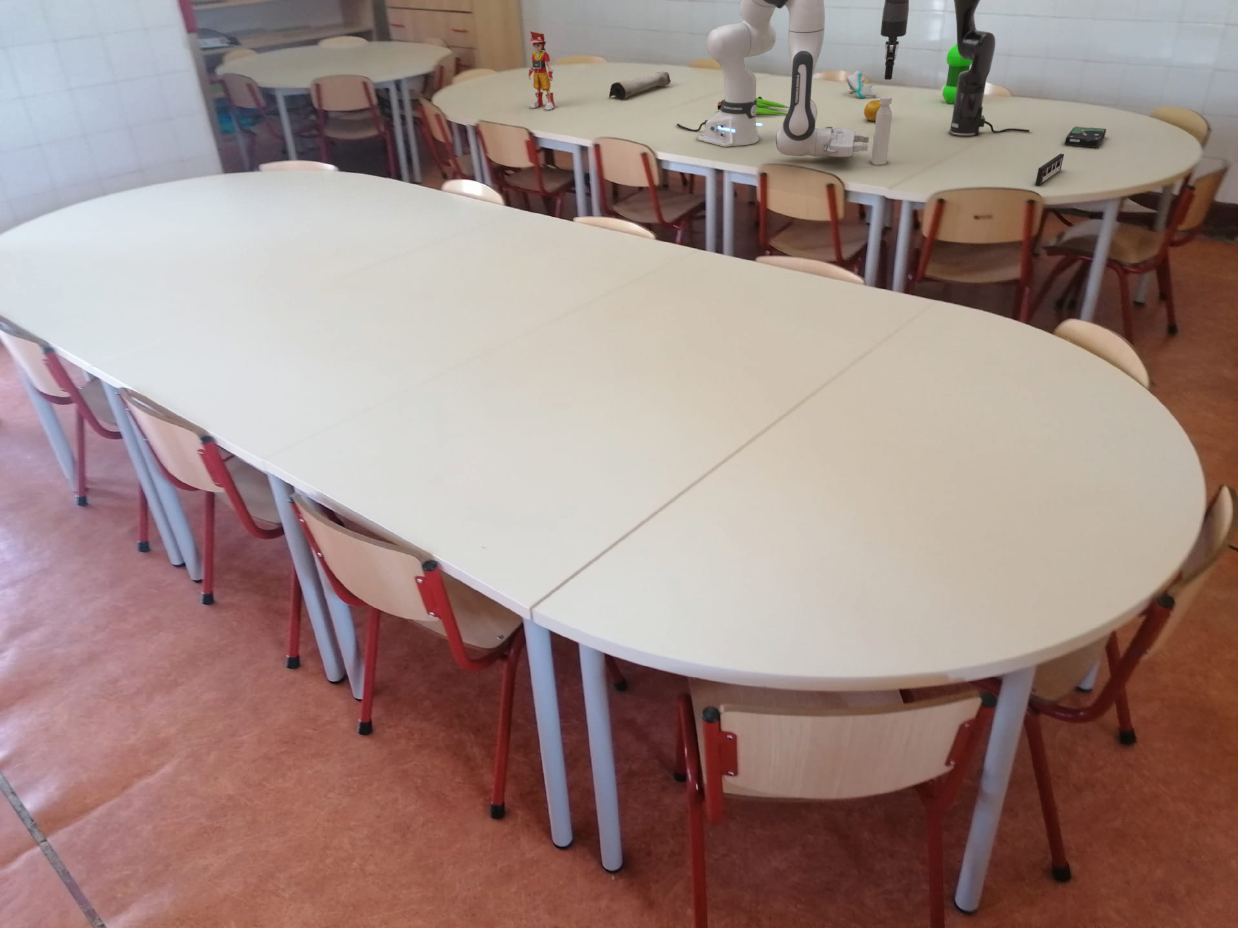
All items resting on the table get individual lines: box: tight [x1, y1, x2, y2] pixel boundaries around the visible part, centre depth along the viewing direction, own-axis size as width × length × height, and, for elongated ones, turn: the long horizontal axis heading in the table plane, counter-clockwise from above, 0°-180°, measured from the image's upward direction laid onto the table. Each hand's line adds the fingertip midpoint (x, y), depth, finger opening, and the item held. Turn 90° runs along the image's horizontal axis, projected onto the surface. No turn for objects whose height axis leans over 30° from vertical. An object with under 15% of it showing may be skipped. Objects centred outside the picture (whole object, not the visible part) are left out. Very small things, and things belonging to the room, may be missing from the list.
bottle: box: [870, 104, 893, 166], centre depth 290 cm, size 5×5×20 cm
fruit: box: [863, 99, 881, 122], centre depth 337 cm, size 8×8×8 cm
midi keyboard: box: [1035, 153, 1065, 186], centre depth 273 cm, size 18×1×5 cm, turn 138°
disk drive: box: [1064, 126, 1107, 148], centre depth 303 cm, size 10×3×15 cm
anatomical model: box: [846, 69, 878, 99], centre depth 370 cm, size 15×10×10 cm
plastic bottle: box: [942, 43, 973, 104], centre depth 348 cm, size 10×10×25 cm
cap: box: [879, 95, 893, 106], centre depth 285 cm, size 4×4×2 cm
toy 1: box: [527, 31, 556, 111], centre depth 374 cm, size 12×9×30 cm
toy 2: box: [716, 96, 790, 115], centre depth 357 cm, size 28×5×30 cm
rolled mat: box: [608, 71, 672, 101], centre depth 395 cm, size 30×9×10 cm
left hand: (868, 143), depth 293 cm, fingers open, 8 cm apart
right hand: (888, 76), depth 281 cm, fingers open, 6 cm apart
